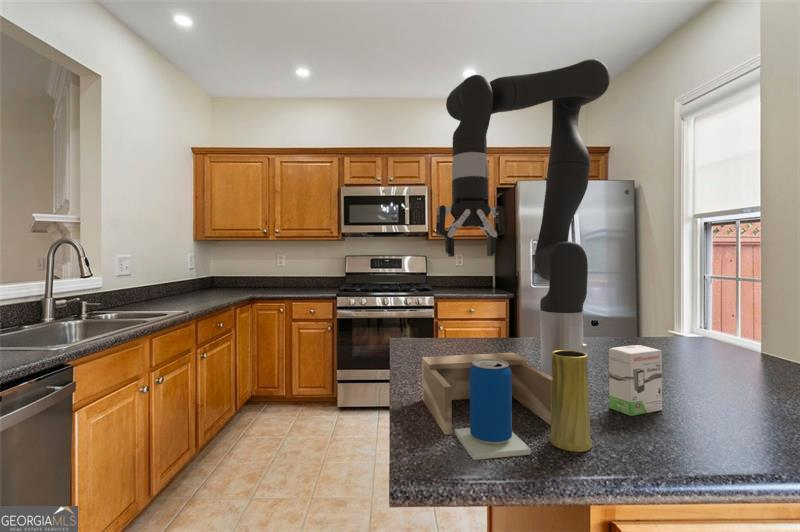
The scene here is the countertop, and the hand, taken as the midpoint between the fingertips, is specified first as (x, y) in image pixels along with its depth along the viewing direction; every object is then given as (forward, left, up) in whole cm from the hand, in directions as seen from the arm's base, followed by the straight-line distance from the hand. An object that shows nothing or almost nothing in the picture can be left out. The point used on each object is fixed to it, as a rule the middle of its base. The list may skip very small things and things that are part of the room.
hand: (470, 256), depth 83 cm
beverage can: (+4, +19, -30) cm, 36 cm away
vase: (-8, +22, -30) cm, 38 cm away
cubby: (0, +7, -30) cm, 31 cm away
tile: (+4, +20, -30) cm, 36 cm away
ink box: (-29, +11, -30) cm, 43 cm away
